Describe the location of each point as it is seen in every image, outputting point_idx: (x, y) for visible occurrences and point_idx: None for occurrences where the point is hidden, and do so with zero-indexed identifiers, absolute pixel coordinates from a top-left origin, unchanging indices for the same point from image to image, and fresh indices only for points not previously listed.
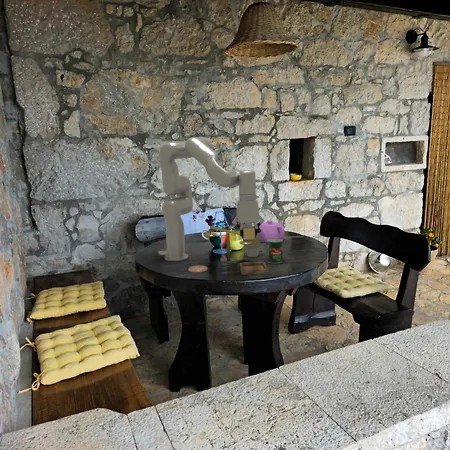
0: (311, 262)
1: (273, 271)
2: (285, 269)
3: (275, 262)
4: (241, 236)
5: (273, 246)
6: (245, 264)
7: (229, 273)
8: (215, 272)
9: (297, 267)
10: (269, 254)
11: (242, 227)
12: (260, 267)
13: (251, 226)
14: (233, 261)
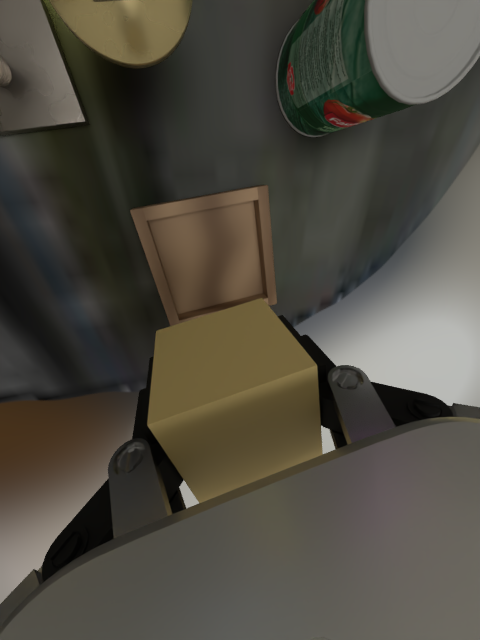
0: (469, 114)
1: (291, 266)
2: (338, 236)
3: (318, 135)
4: (152, 364)
5: (373, 111)
6: (166, 215)
7: (114, 314)
8: (37, 311)
9: (388, 204)
10: (311, 107)
11: (182, 508)
12: (243, 232)
13: (294, 391)
14: (61, 124)
